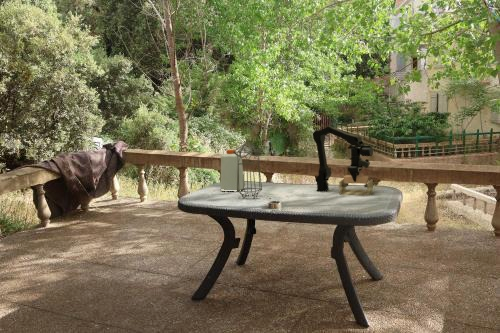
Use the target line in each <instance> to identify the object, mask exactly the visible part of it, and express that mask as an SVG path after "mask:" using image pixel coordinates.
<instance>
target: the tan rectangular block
mask: <svg viewBox="0 0 500 333" xmlns="http://www.w3.org/2000/svg"><path fill="white" fill-rule="evenodd" d="M343 179H344V183H348V184H364V185H365V184H367V182H368V181H369V175H359V176H357V178H356V182H354V180H353V178H352V176H351V174H350V175H347V174H346V175H344V176H343Z"/></svg>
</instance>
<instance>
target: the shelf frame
mask: <svg viewBox="0 0 500 333" xmlns="http://www.w3.org/2000/svg"><path fill="white" fill-rule="evenodd" d="M373 179H374V178H373ZM373 179H372V178H371V179H370V180H369V179H368V182H367V184H364V186H363V187H364V188H367V189H346V187H348V186H349V183H344V178H342V179H341V180H339V182H338V183H339V184H338V191H339V194H338V195H341V196H342V195H343V196H344V195H345V196H346V195H347V196H370V195H371V196H372V194H373V193H374V180H373Z"/></svg>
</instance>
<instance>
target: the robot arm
mask: <svg viewBox="0 0 500 333" xmlns="http://www.w3.org/2000/svg"><path fill="white" fill-rule="evenodd" d="M330 134H331V135H333V136H335V137H338V138H341V139H343V140H344V141H346V142H347V143H348V144H349V146H348V147H347V149H348V150H350V158H349V159H350V166H348V167H347V172H348V173H349V174H350V175H351V176H352V178H353V180H354V182H356V178H357V176H360V172H362V170H363V169H364V168H365V169H368V168H369V167H370V164H371V162H370V160H369V159H365V160H364V159H362V157H373V154H374V149H373V147H372V145H371V144H366V145H365V143H364V142H363V140H362V137H361V136H360V135H357V134H352V133H348V132H346V131H343V130H341V129H338V128H336V127H333V126H331V125H329V126H328V125H327V126H326V127H325V128H324V127H323V128H322V129H318V130H315V131H313V133H312V137H313V141H314V143H315V144H316V149H317V156H318V164H319V168H318V175H317V176H316V178H315V179H314V180H315V182H316V190H315V191H316V192H327V191H328V190H329V183H328V181H329V179H330V178H331V176H332V173H333V172H332V168H331V166H330V167H329V166H328V163H327V162H328V161H327V156H326V154H327V153H326V149H325V141H326V136H327V135H330Z"/></svg>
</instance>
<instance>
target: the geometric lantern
mask: <svg viewBox="0 0 500 333" xmlns="http://www.w3.org/2000/svg"><path fill="white" fill-rule="evenodd" d="M247 146H248V148H249V149H248V150H247ZM233 150H234V151H233V153H234V154H235V155H237V157H240V158H241V159H242V164H243V171H245V169H246V168H245V167H246V166H245V165H246V164H248V165H249V166H252V169H251V167H249V170H248V169H246V184H247V185H246V186H247V187H245V188H244V187H243V189H241V190H242V191H240V190H239V164H241V163H239V161H238V170H237V192H236V193H239V194H240V195H241V198H242V197H244V196H245V195H247V194H248V195H249V193H251V195H252V196H251V198H252V197H253V198H254V196H257V195H258V196H259V194H260V192H261V191H263V186H262V179H261V170H260V169H261V168H260V161H258V160H260V154H261V153H262V152H263V149H262V148H260V147H258V146H256V145H255V144H254V143H251V142H249V141H248V142H247V141H246V142H245V143H243V145H240V146H239V147H237V148H235V149H233ZM238 153H239V155H238ZM242 153H243V156H242ZM245 154H246V155H245ZM247 156H249V158H247ZM252 156H253V157H254V158H253V160H252V161H249V160H250V158H251V157H252ZM257 157H258V160H257ZM243 158H245V159H246V162H245V161H244V160H243ZM239 160H240V159H239ZM254 160H255V161H254ZM254 165H257V169H258V185H259V186H258V187H259V188H258V187H256V180H255V169H254ZM248 171H249V173H248ZM251 171H252V172H253V173H252V172H251ZM248 174H249V177H248ZM252 174H253V184H254V185H252ZM249 179H250V187H249ZM252 186H254V188H253V187H252ZM246 190H247V191H246Z"/></svg>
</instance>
